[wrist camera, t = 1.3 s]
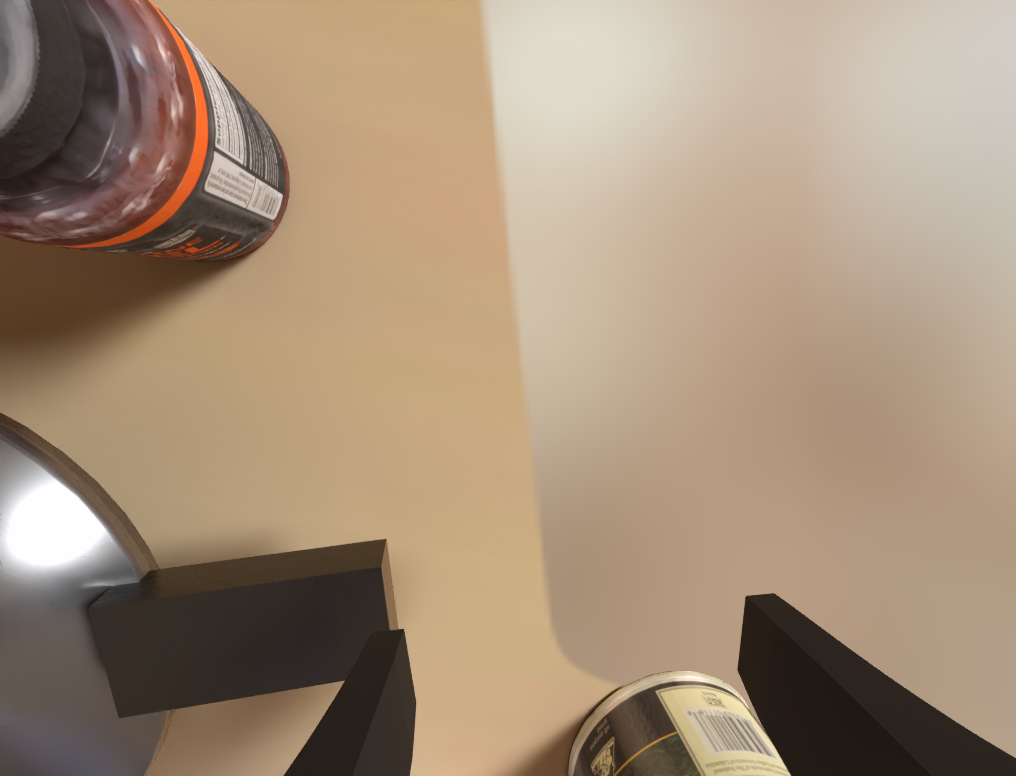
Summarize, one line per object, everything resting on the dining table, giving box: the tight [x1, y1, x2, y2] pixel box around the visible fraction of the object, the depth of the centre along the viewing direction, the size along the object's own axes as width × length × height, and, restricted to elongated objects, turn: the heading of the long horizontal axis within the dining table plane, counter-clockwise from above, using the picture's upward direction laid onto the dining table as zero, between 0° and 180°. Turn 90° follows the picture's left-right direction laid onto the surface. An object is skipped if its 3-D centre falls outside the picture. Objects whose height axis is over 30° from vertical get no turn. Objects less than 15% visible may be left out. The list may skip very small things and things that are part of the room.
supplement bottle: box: [0, 0, 290, 262], centre depth 13 cm, size 6×6×11 cm
